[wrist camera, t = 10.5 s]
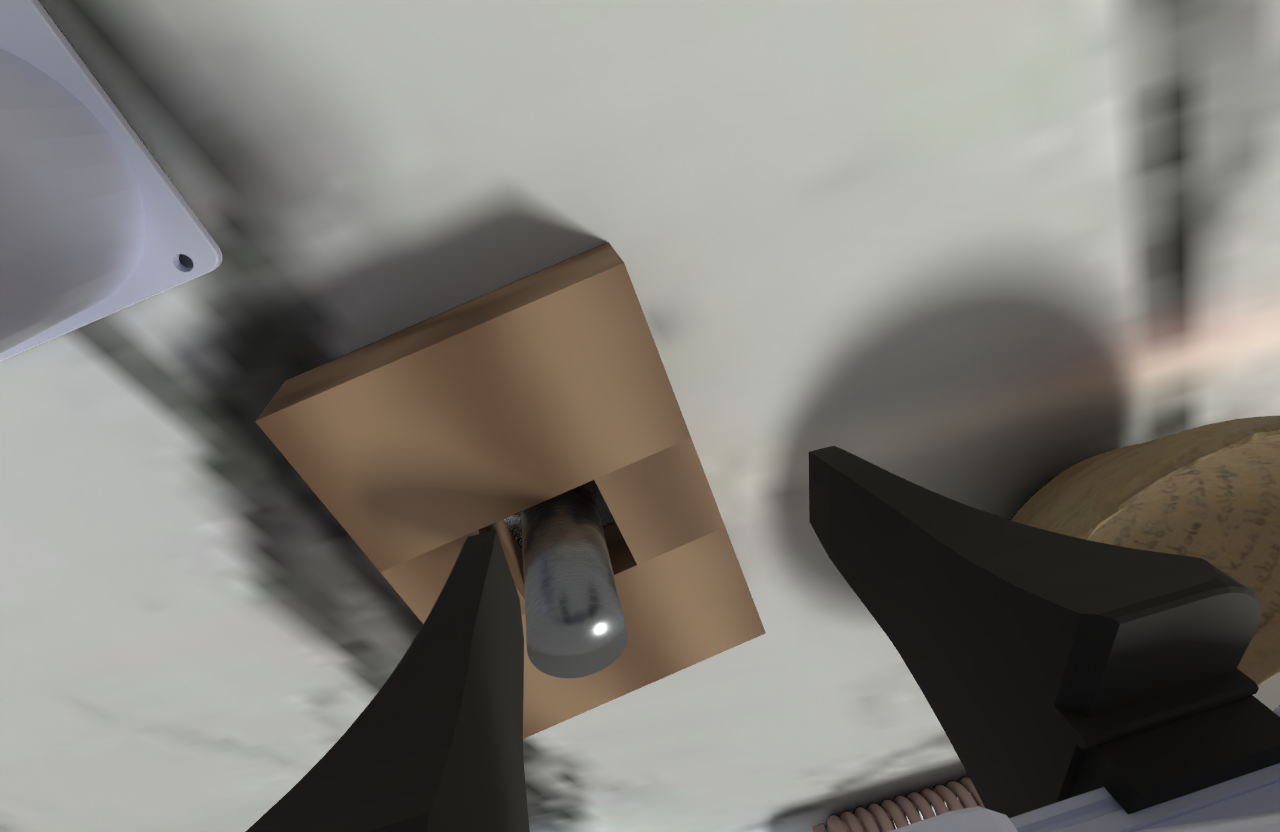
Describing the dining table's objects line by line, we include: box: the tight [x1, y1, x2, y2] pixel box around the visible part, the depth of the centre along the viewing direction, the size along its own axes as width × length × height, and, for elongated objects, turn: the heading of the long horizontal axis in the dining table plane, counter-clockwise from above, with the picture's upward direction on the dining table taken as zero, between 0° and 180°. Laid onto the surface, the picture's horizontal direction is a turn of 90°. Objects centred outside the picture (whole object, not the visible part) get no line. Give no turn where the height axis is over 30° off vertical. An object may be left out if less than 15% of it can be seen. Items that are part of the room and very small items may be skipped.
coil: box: [814, 777, 985, 832], centre depth 42 cm, size 5×5×18 cm
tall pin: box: [521, 481, 627, 678], centre depth 22 cm, size 3×3×8 cm
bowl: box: [1011, 416, 1280, 687], centre depth 28 cm, size 18×18×8 cm
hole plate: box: [255, 242, 765, 739], centre depth 24 cm, size 12×18×3 cm, turn 20°
